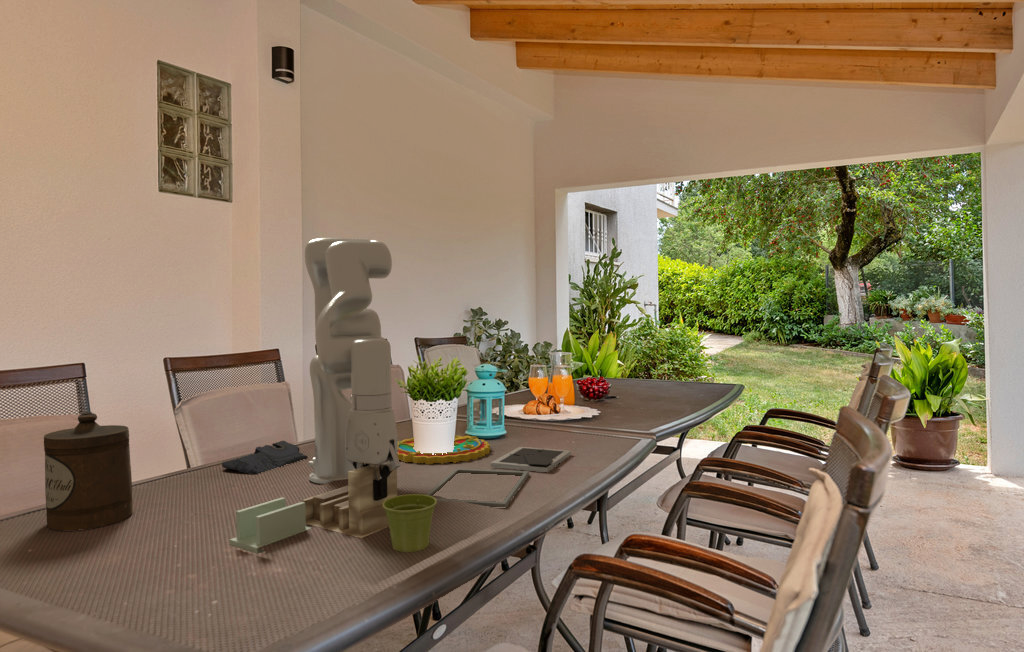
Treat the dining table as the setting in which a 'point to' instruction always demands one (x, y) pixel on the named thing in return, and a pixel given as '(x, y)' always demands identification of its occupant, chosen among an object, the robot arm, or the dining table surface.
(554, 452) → the grey-brown pointed piece
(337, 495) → the walnut offcut
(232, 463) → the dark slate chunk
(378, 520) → the offcut rack
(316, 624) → the dining table surface
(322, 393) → the robot arm
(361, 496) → the maple block
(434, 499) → the plant pot
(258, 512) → the green stand
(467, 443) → the decorative plaque
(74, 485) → the wooden container
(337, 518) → the walnut offcut
